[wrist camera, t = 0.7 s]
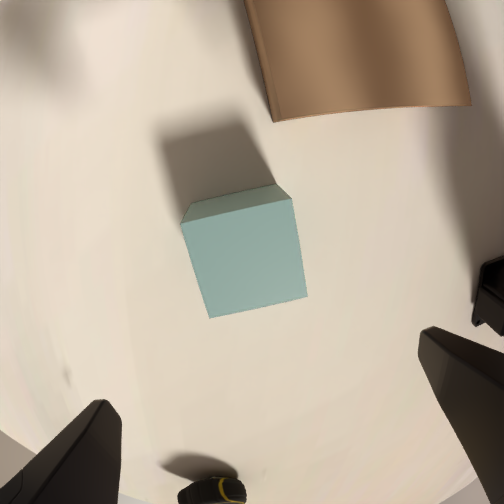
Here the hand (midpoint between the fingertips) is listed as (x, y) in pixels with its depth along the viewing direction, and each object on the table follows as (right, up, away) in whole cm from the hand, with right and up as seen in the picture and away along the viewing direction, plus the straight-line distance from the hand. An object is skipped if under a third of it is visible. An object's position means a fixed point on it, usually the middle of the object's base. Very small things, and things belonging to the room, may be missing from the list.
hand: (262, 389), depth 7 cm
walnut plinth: (+5, +18, +6) cm, 20 cm away
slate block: (-1, +5, +11) cm, 12 cm away
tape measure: (-8, -24, +21) cm, 33 cm away
